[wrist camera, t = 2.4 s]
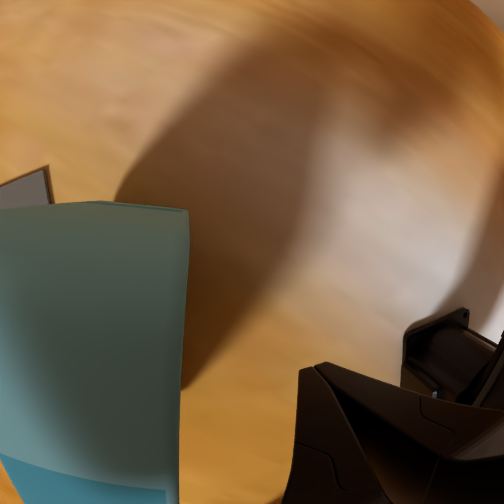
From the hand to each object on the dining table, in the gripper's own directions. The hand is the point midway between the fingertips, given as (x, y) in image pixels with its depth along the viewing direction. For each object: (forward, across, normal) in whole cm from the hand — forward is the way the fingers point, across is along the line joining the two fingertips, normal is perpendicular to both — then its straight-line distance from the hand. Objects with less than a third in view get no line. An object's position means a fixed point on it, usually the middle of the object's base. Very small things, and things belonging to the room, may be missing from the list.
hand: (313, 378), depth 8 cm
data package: (+9, +7, 0) cm, 11 cm away
